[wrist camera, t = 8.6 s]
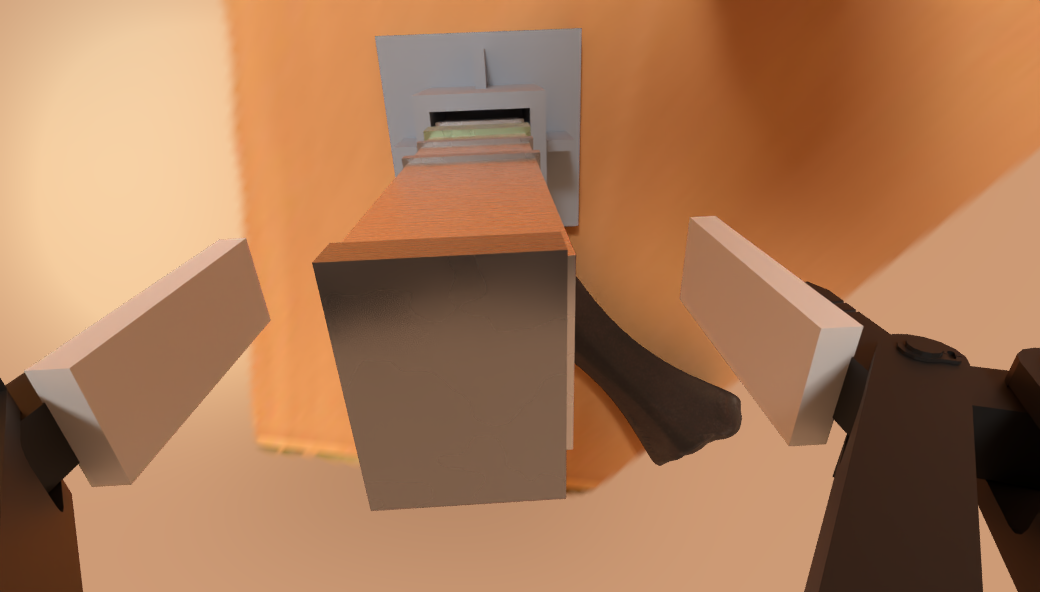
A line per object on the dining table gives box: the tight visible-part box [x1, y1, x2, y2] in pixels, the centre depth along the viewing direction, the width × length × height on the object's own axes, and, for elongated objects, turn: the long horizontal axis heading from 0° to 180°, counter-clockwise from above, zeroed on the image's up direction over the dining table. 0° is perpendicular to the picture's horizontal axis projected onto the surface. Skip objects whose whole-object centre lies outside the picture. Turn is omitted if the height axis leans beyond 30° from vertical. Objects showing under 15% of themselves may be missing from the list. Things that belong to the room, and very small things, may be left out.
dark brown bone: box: [574, 277, 742, 466], centre depth 50 cm, size 11×10×28 cm
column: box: [312, 117, 576, 511], centre depth 22 cm, size 6×6×27 cm
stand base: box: [375, 28, 582, 226], centre depth 38 cm, size 16×16×12 cm
